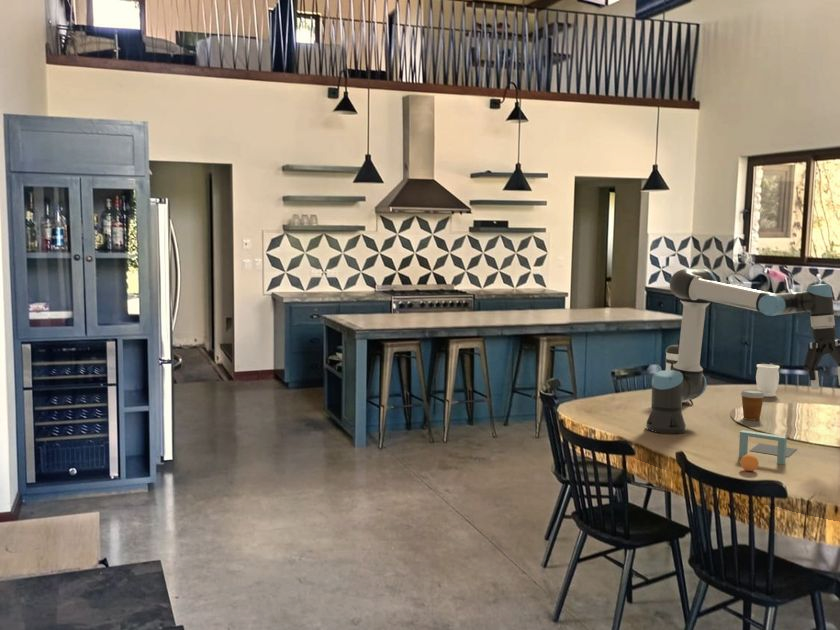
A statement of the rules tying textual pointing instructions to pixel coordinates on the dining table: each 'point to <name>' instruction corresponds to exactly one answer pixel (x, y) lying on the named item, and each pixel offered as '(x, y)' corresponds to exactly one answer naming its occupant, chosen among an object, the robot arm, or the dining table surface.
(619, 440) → the dining table surface
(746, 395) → the disposable coffee cup
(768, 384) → the jar
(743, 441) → the bridge
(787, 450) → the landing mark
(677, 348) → the coffee press
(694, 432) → the dining table surface
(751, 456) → the ball
